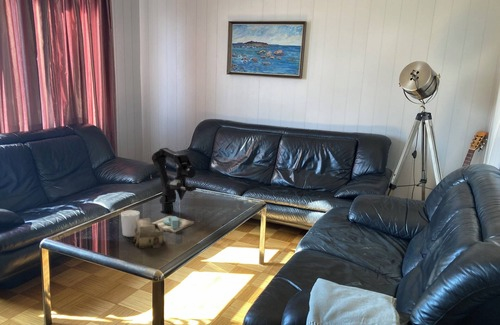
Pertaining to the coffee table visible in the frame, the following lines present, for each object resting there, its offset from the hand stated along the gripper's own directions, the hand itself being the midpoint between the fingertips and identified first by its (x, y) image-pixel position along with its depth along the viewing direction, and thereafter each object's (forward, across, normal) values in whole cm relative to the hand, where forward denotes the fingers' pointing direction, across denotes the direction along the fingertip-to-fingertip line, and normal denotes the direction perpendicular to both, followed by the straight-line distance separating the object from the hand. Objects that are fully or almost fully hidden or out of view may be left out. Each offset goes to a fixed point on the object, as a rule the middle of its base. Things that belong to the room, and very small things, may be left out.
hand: (181, 199), depth 245 cm
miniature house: (+12, +11, -39) cm, 43 cm away
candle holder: (+12, -6, -36) cm, 38 cm away
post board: (+12, +3, -12) cm, 17 cm away
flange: (+11, +5, -14) cm, 18 cm away
